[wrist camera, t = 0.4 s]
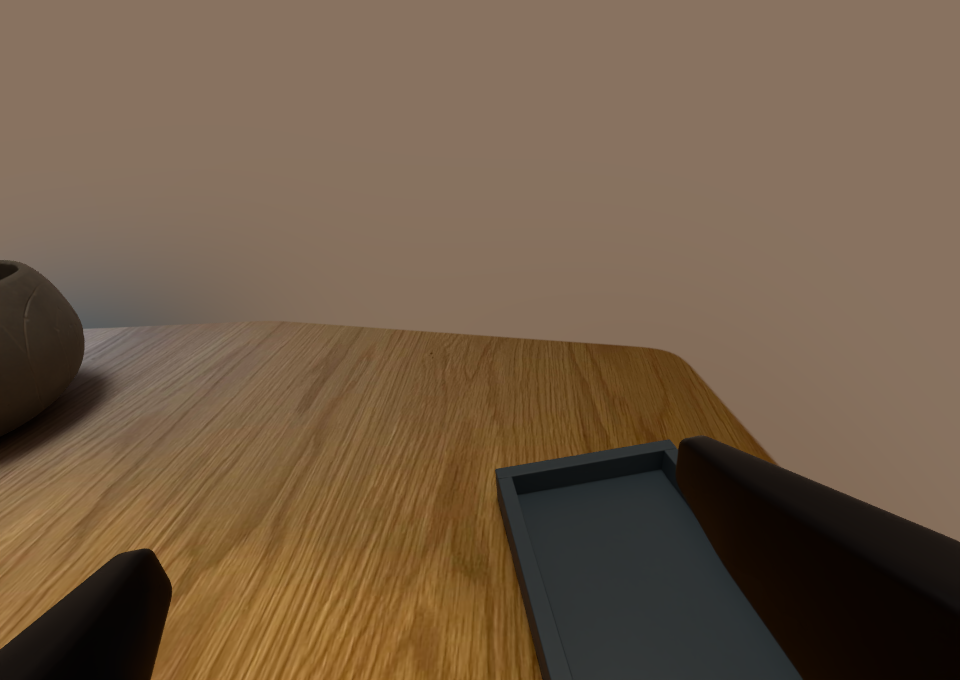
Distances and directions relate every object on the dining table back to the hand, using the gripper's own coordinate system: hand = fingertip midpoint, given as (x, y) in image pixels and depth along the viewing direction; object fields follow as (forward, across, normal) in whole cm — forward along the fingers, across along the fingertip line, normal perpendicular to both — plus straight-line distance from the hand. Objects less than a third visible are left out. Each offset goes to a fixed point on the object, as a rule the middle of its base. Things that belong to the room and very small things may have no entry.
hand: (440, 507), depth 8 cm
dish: (+7, -8, +14) cm, 18 cm away
